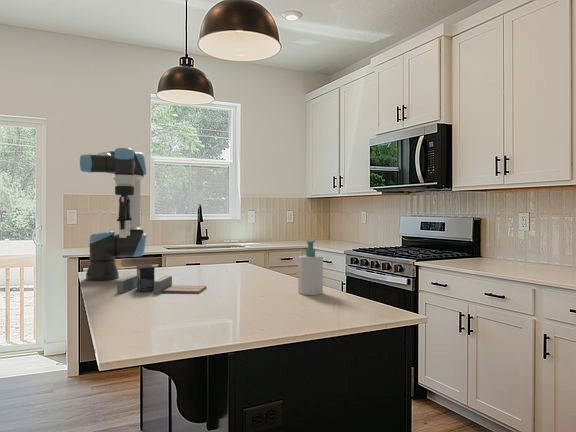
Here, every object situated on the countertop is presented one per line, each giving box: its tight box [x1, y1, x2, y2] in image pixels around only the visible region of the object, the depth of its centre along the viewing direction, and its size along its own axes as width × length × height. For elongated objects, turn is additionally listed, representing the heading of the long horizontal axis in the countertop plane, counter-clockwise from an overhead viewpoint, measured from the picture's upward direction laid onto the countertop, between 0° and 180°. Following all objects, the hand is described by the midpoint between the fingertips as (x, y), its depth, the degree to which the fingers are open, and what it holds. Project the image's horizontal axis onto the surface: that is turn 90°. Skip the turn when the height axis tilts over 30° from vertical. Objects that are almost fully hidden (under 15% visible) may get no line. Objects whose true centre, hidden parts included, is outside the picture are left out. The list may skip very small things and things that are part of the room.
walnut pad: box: [162, 284, 207, 295], centre depth 198 cm, size 13×15×1 cm
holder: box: [116, 274, 173, 295], centre depth 199 cm, size 16×18×5 cm
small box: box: [136, 263, 155, 293], centre depth 199 cm, size 11×6×10 cm, turn 25°
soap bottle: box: [297, 239, 324, 296], centre depth 193 cm, size 10×9×22 cm
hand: (124, 236), depth 193 cm, fingers open, 13 cm apart
